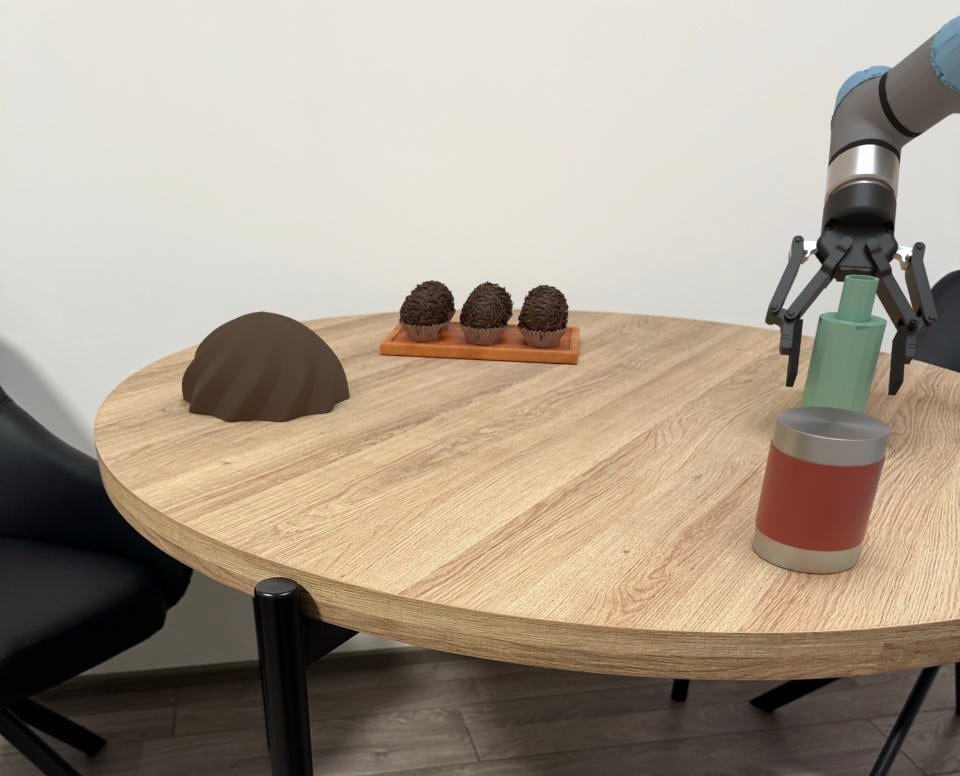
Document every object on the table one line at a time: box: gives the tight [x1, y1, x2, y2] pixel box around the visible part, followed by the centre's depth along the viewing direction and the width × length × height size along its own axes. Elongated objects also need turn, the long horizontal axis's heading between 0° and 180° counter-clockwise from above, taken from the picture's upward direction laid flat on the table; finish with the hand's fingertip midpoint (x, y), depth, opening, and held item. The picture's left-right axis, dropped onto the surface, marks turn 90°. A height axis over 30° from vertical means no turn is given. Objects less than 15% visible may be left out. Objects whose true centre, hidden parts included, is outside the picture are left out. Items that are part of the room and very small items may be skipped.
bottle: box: [800, 275, 888, 414], centre depth 97 cm, size 7×7×17 cm
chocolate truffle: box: [379, 279, 581, 365], centre depth 133 cm, size 28×17×8 cm, turn 84°
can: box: [751, 406, 892, 575], centre depth 73 cm, size 9×9×11 cm
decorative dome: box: [181, 310, 350, 423], centre depth 107 cm, size 19×20×10 cm
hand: (842, 384), depth 95 cm, fingers open, 10 cm apart
